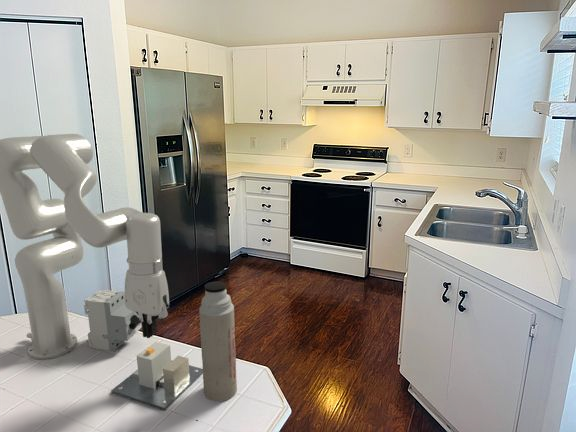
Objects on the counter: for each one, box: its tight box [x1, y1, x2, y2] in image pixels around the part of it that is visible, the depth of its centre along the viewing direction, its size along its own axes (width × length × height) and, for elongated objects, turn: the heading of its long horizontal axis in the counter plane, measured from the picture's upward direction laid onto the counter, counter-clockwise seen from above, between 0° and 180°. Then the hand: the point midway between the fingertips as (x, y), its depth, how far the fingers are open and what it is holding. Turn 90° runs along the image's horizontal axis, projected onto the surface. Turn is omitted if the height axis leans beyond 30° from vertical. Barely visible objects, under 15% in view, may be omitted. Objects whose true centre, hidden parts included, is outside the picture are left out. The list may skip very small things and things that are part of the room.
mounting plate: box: [110, 355, 203, 412], centre depth 106 cm, size 16×16×7 cm
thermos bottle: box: [198, 281, 238, 403], centre depth 100 cm, size 8×8×28 cm
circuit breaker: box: [83, 289, 142, 352], centre depth 122 cm, size 8×14×15 cm, turn 78°
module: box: [136, 341, 172, 389], centre depth 106 cm, size 4×7×9 cm, turn 157°
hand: (150, 334), depth 104 cm, fingers closed
